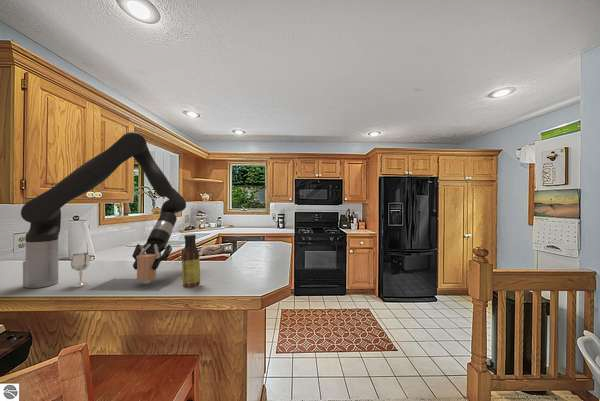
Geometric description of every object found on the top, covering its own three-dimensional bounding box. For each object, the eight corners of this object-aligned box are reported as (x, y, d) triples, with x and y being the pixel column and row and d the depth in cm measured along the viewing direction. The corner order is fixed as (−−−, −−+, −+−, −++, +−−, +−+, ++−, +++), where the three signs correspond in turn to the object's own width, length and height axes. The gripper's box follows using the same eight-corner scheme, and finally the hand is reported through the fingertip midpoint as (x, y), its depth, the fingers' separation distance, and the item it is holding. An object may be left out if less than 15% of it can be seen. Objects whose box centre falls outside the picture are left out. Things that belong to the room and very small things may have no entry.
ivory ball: (141, 285, 102) (141, 277, 102) (145, 283, 105) (145, 275, 105) (148, 285, 102) (148, 277, 102) (153, 283, 105) (153, 275, 105)
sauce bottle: (203, 284, 105) (203, 234, 105) (190, 289, 99) (191, 236, 99) (191, 282, 108) (191, 233, 108) (178, 287, 102) (178, 235, 102)
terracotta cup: (133, 280, 100) (133, 256, 100) (143, 275, 107) (143, 253, 107) (150, 280, 100) (150, 256, 100) (159, 275, 107) (159, 253, 107)
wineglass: (79, 288, 100) (79, 256, 100) (66, 286, 102) (66, 255, 102) (93, 283, 106) (93, 253, 106) (82, 282, 107) (82, 252, 107)
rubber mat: (86, 291, 97) (86, 290, 97) (113, 279, 111) (113, 278, 111) (158, 292, 97) (158, 290, 97) (176, 280, 111) (176, 279, 111)
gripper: (140, 227, 111) (120, 263, 99) (175, 228, 111) (159, 263, 99) (147, 238, 116) (129, 273, 105) (180, 239, 116) (166, 274, 105)
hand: (144, 268), depth 102 cm, fingers closed on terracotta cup, 6 cm apart
